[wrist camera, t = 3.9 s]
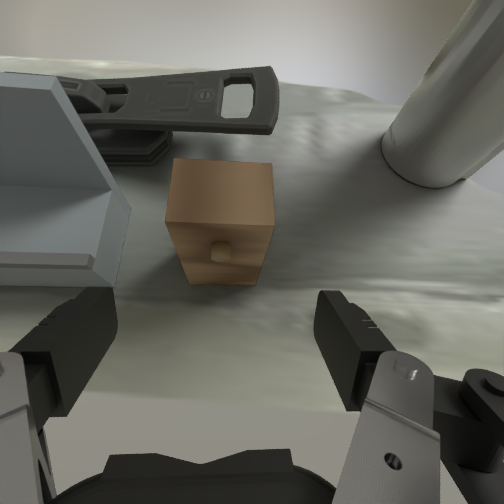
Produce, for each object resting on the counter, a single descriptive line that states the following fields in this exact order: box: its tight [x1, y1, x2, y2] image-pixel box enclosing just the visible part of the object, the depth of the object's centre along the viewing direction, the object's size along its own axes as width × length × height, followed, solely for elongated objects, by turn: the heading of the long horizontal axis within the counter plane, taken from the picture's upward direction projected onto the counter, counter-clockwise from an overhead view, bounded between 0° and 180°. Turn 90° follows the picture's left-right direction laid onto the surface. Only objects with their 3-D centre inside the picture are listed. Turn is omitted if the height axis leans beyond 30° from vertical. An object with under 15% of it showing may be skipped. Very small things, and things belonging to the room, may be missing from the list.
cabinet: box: [165, 158, 275, 286], centre depth 19 cm, size 5×5×10 cm
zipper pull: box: [4, 66, 279, 166], centre depth 25 cm, size 9×7×25 cm
